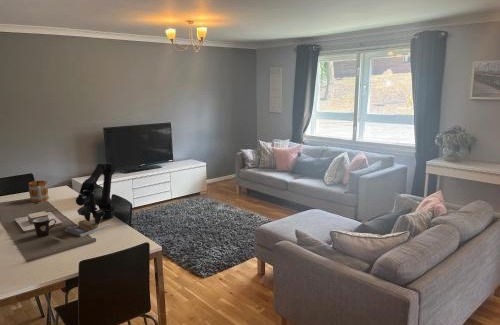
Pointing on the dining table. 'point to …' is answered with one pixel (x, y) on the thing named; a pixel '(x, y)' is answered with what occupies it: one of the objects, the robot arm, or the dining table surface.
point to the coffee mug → (42, 226)
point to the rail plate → (80, 232)
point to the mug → (38, 191)
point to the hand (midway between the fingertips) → (92, 224)
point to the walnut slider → (87, 225)
